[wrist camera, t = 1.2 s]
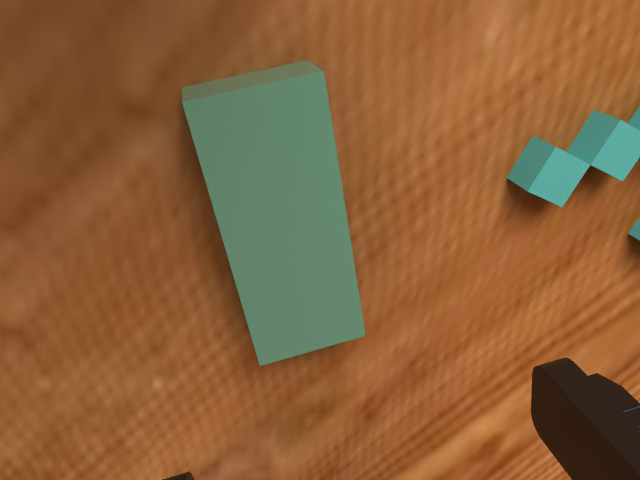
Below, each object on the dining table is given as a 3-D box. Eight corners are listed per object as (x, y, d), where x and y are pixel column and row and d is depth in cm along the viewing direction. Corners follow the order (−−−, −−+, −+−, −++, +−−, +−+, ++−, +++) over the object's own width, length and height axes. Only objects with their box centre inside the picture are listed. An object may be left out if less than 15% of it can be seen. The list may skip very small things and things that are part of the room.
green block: (182, 85, 20) (181, 102, 18) (306, 58, 21) (324, 70, 18) (252, 326, 26) (259, 366, 23) (348, 300, 27) (365, 335, 24)
